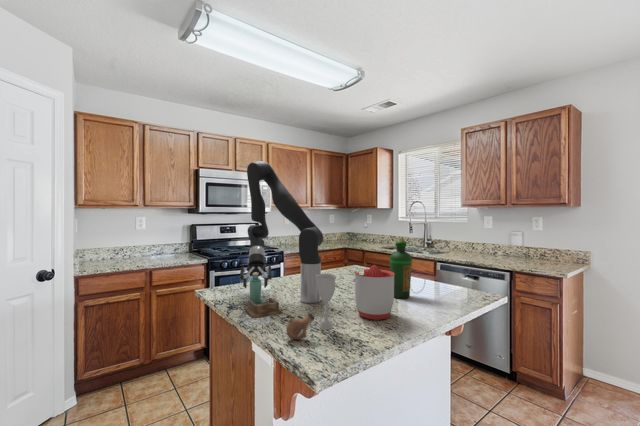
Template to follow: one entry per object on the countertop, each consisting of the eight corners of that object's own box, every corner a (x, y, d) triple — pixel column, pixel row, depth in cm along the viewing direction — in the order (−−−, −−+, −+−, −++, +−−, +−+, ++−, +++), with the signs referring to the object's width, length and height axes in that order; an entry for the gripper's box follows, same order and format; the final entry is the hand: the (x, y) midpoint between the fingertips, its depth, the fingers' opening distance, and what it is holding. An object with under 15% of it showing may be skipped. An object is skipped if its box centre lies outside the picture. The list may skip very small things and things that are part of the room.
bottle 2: (414, 300, 146) (415, 239, 146) (391, 299, 146) (392, 239, 146) (408, 294, 157) (409, 237, 157) (387, 293, 157) (387, 237, 157)
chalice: (338, 324, 113) (338, 274, 113) (333, 331, 107) (333, 278, 107) (319, 322, 115) (319, 273, 115) (312, 328, 109) (313, 276, 109)
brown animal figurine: (312, 335, 103) (313, 311, 103) (315, 340, 99) (315, 315, 99) (285, 338, 101) (285, 313, 101) (287, 343, 97) (287, 317, 97)
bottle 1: (262, 300, 143) (262, 272, 143) (259, 304, 138) (259, 274, 138) (251, 300, 143) (251, 271, 143) (248, 303, 138) (248, 273, 138)
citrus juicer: (366, 306, 136) (366, 259, 136) (402, 315, 123) (402, 264, 123) (342, 314, 125) (342, 263, 125) (379, 325, 112) (379, 269, 112)
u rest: (271, 305, 136) (271, 296, 136) (282, 313, 126) (282, 303, 126) (244, 309, 130) (244, 299, 130) (252, 317, 120) (252, 307, 120)
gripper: (241, 252, 147) (238, 282, 136) (271, 252, 149) (271, 282, 138) (242, 262, 152) (239, 292, 141) (271, 261, 155) (271, 291, 143)
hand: (255, 287), depth 140 cm, fingers open, 8 cm apart
